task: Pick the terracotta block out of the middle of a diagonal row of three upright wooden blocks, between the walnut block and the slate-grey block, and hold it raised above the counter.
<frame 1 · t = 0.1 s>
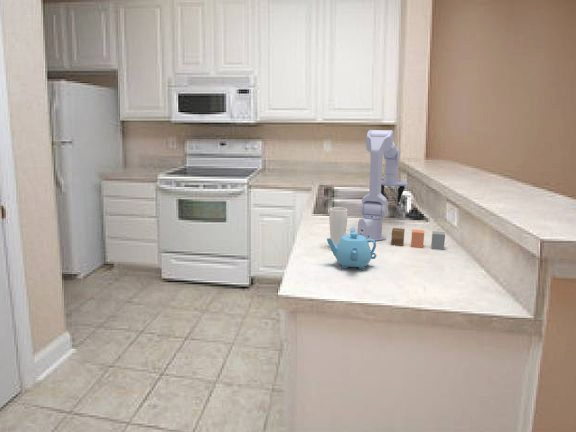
hand: (390, 200, 205), 11 cm above the counter, tool pointing down, fingers open, 7 cm apart
slate block: (437, 248, 167), on the counter
teapot: (350, 266, 146), on the counter
walnut block: (397, 244, 172), on the counter
drinking glass: (337, 247, 167), on the counter
terracotta block: (417, 246, 170), on the counter
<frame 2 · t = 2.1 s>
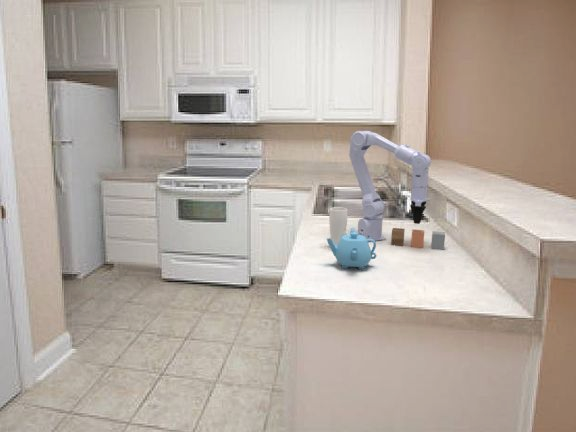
hand: (417, 221, 168), 10 cm above the counter, tool pointing down, fingers open, 7 cm apart
nothing on the counter moved.
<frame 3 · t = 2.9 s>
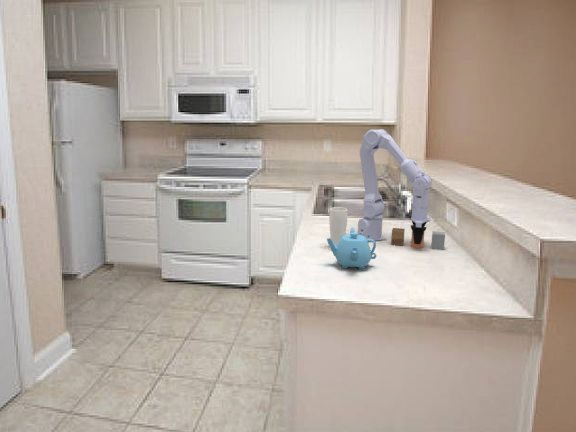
hand: (417, 241, 169), 2 cm above the counter, tool pointing down, fingers open, 7 cm apart
nothing on the counter moved.
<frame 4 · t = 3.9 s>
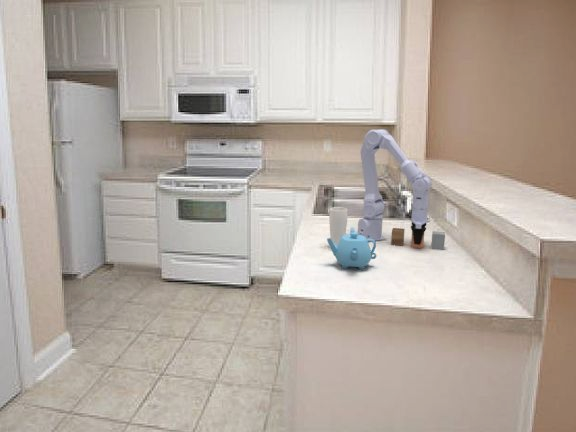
hand: (417, 242, 169), 1 cm above the counter, tool pointing down, fingers closed on terracotta block, 4 cm apart
terracotta block: (417, 246, 170), on the counter, touching gripper
everything else where it was.
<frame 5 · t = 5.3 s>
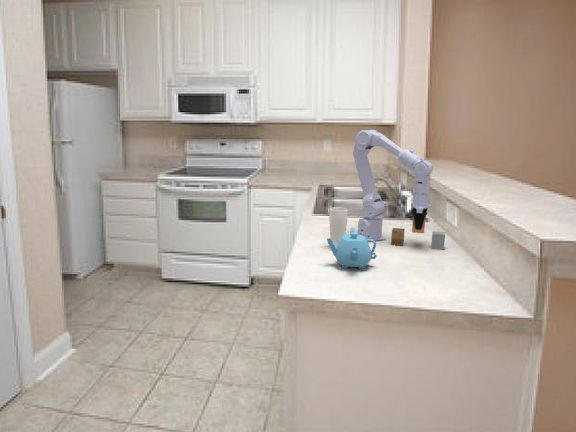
hand: (418, 227, 168), 7 cm above the counter, tool pointing down, fingers closed on terracotta block, 4 cm apart
terracotta block: (418, 231, 168), point 6 cm above the counter, touching gripper
everything else where it was.
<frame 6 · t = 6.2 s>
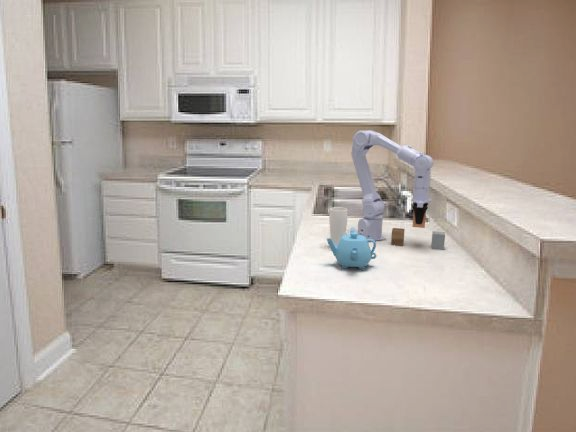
hand: (418, 222, 168), 9 cm above the counter, tool pointing down, fingers closed on terracotta block, 4 cm apart
terracotta block: (418, 226, 168), point 8 cm above the counter, touching gripper
everything else where it was.
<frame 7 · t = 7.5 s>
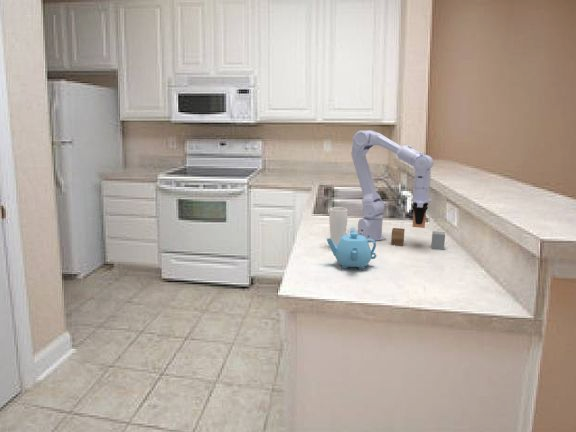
hand: (418, 222, 168), 9 cm above the counter, tool pointing down, fingers closed on terracotta block, 4 cm apart
terracotta block: (418, 226, 168), point 8 cm above the counter, touching gripper
everything else where it was.
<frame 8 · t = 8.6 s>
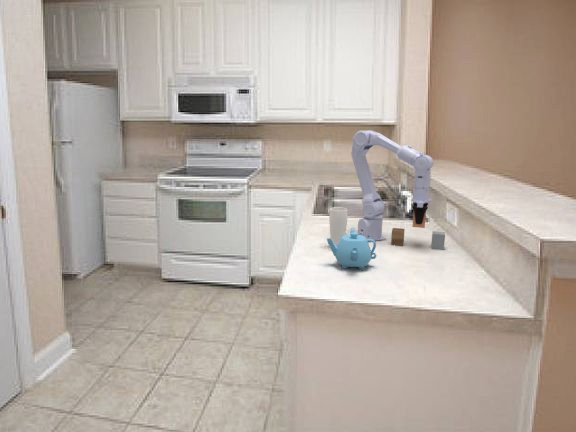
hand: (418, 222, 168), 9 cm above the counter, tool pointing down, fingers closed on terracotta block, 4 cm apart
terracotta block: (418, 226, 168), point 8 cm above the counter, touching gripper
everything else where it was.
at the end: terracotta block 0.0 cm from the target spot, point 8.0 cm above the counter; walnut block moved 0.1 cm from its start; slate block moved 0.1 cm from its start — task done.
